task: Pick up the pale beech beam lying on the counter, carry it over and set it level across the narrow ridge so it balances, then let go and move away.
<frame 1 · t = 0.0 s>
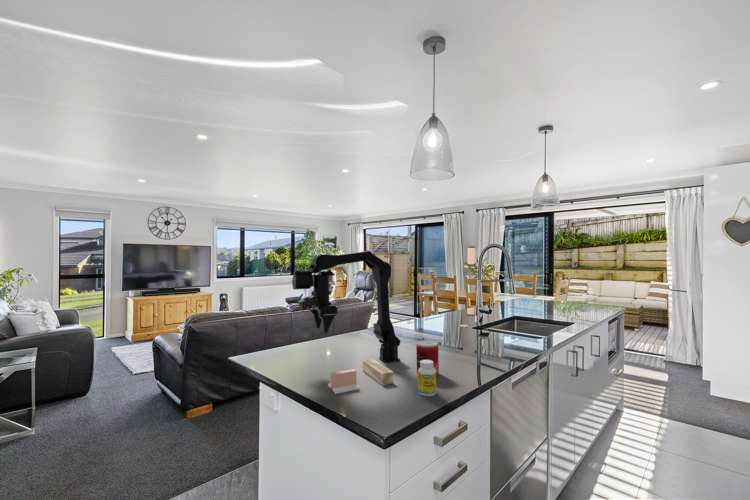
hand: (321, 330, 124), 15 cm above the counter, tool pointing down, fingers open, 9 cm apart
supplement bottle: (427, 393, 102), on the counter
beam: (377, 377, 117), on the counter
canned food: (427, 374, 119), on the counter
fulcrum: (343, 387, 107), on the counter
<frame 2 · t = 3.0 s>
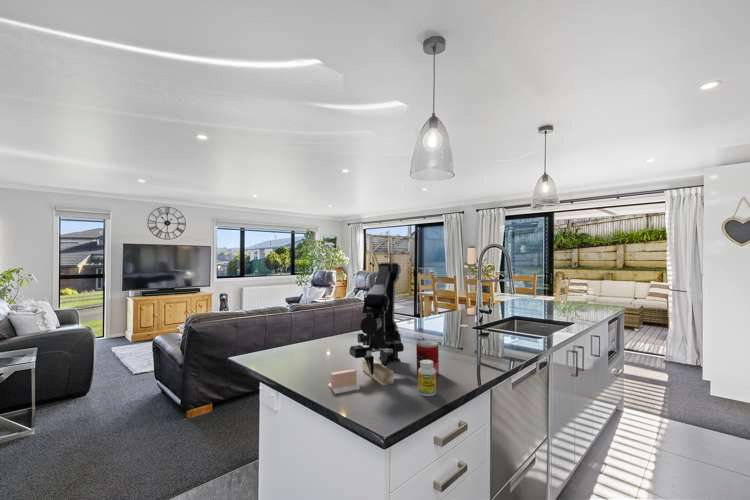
hand: (377, 373, 117), 1 cm above the counter, tool pointing down, fingers closed on beam, 4 cm apart
beam: (377, 376, 117), on the counter, touching gripper
everything else where it was.
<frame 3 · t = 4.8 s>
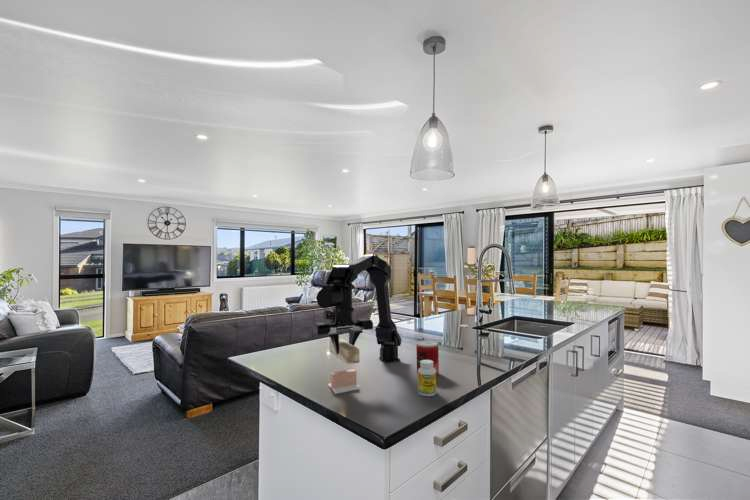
hand: (343, 353, 108), 11 cm above the counter, tool pointing down, fingers closed on beam, 4 cm apart
beam: (343, 356, 108), point 10 cm above the counter, touching gripper
everything else where it was.
when the fingers open (7 cm above the counter, at t = 6.3 s): beam stays where it is, resting on fulcrum.
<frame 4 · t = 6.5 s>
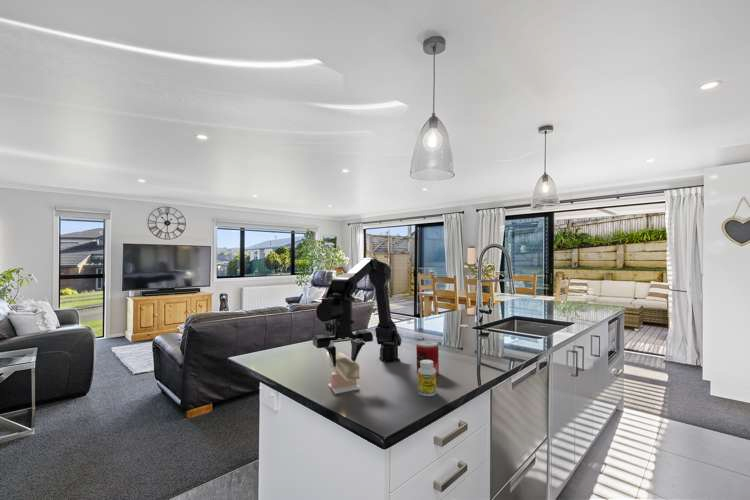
hand: (343, 365, 108), 7 cm above the counter, tool pointing down, fingers open, 6 cm apart
beam: (343, 371, 108), point 5 cm above the counter, touching fulcrum
everything else where it was.
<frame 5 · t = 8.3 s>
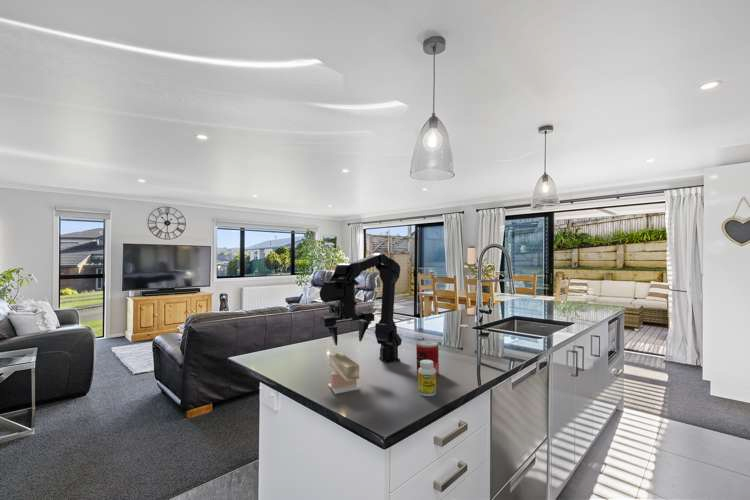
hand: (348, 343, 119), 11 cm above the counter, tool pointing down, fingers open, 9 cm apart
nothing on the counter moved.
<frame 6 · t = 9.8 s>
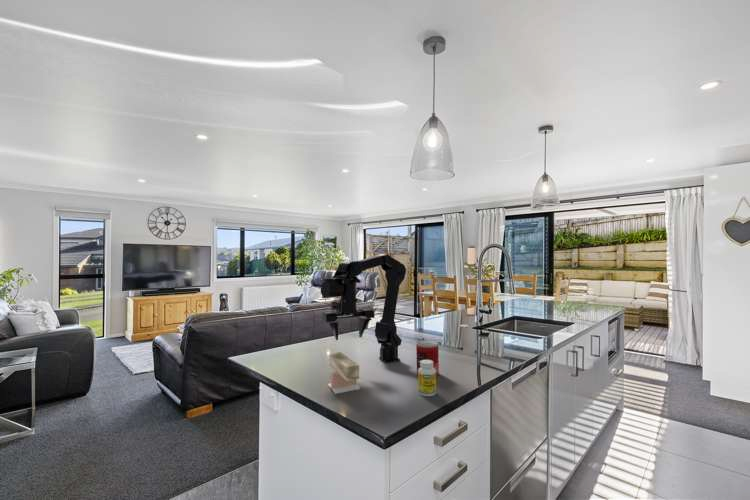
hand: (348, 338, 123), 12 cm above the counter, tool pointing down, fingers open, 9 cm apart
nothing on the counter moved.
at the end: beam 0.0 cm from the fulcrum (horizontally); beam point 5.0 cm above the counter; beam tilted 0° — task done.
